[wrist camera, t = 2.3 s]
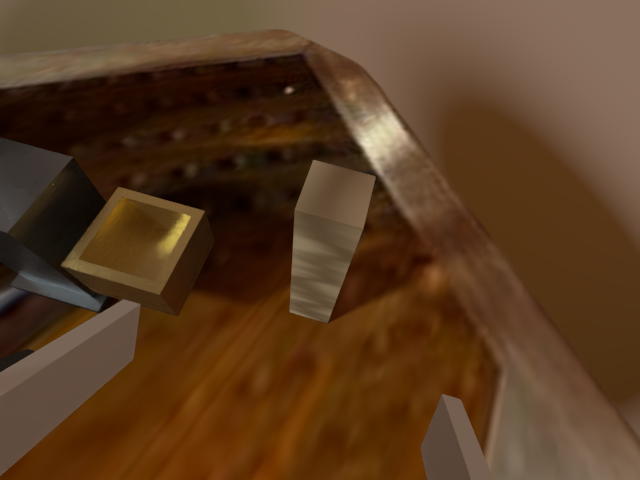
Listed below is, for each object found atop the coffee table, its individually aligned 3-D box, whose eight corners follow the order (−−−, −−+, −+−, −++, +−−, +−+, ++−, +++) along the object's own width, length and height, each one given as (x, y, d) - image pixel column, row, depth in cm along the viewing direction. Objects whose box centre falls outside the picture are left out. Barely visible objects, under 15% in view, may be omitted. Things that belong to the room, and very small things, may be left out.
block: (289, 312, 35) (294, 209, 20) (300, 277, 37) (313, 160, 22) (327, 323, 35) (363, 228, 20) (336, 287, 37) (375, 176, 22)
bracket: (15, 288, 34) (-117, 212, 23) (72, 215, 38) (-14, 122, 27) (188, 339, 33) (139, 287, 22) (225, 258, 37) (201, 180, 26)
